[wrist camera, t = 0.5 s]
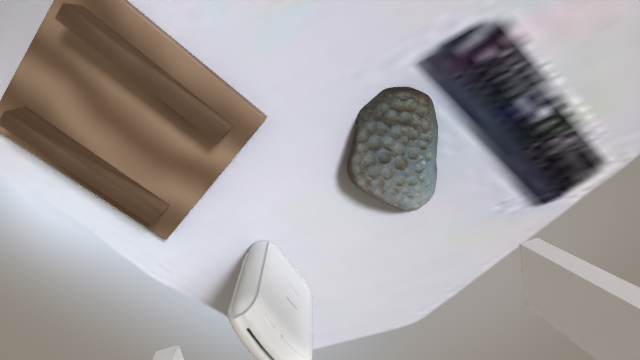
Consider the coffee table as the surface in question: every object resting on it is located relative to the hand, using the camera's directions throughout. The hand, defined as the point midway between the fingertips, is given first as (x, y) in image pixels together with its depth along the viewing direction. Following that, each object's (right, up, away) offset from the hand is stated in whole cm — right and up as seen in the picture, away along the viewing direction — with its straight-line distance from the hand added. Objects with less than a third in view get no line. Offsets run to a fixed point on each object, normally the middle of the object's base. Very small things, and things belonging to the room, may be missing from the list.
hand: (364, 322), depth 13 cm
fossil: (+7, +8, +25) cm, 27 cm away
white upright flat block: (-6, -6, +30) cm, 31 cm away
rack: (-20, +12, +23) cm, 33 cm away
